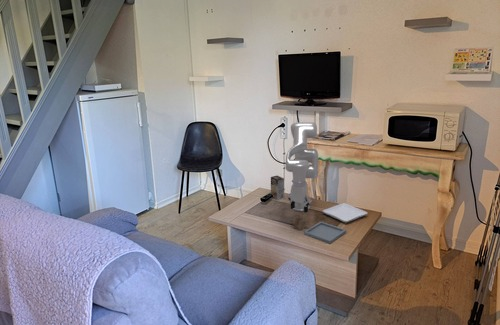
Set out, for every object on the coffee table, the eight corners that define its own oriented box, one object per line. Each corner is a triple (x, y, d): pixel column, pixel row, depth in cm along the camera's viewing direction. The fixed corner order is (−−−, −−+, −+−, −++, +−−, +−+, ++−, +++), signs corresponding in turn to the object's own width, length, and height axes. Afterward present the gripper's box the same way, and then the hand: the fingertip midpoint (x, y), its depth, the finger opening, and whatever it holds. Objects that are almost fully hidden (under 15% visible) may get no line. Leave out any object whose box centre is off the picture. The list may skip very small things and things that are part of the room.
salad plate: (345, 225, 224) (345, 220, 223) (321, 214, 241) (321, 210, 240) (368, 217, 235) (368, 212, 234) (343, 207, 252) (343, 202, 251)
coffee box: (270, 196, 275) (270, 176, 271) (277, 194, 278) (276, 175, 274) (277, 200, 268) (277, 179, 263) (284, 198, 271) (284, 178, 266)
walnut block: (293, 228, 223) (293, 219, 221) (298, 225, 226) (298, 216, 224) (300, 230, 219) (300, 221, 218) (304, 227, 223) (304, 219, 221)
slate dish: (303, 234, 215) (303, 231, 214) (320, 224, 227) (320, 221, 226) (330, 243, 202) (330, 241, 202) (346, 232, 215) (346, 229, 214)
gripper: (283, 182, 218) (284, 208, 222) (307, 187, 206) (307, 215, 210) (291, 179, 223) (291, 205, 227) (315, 184, 211) (314, 211, 215)
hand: (299, 210), depth 219 cm, fingers open, 9 cm apart
